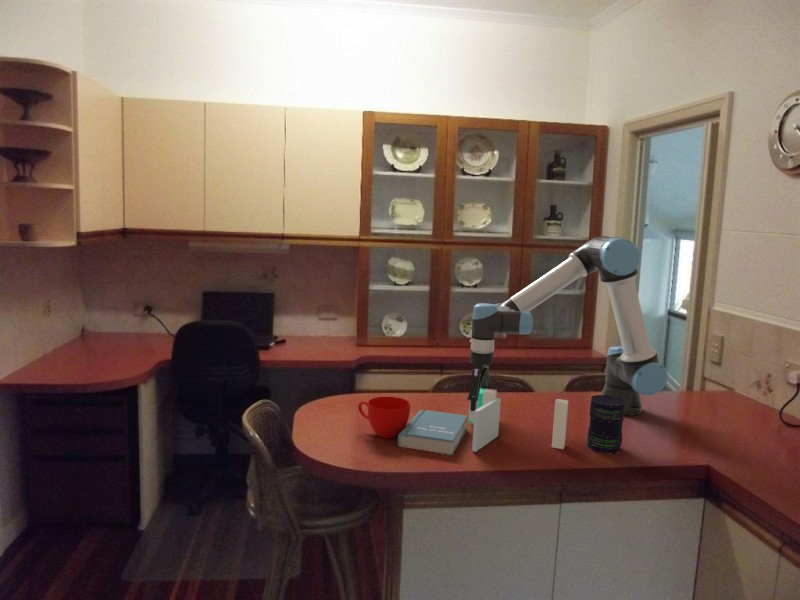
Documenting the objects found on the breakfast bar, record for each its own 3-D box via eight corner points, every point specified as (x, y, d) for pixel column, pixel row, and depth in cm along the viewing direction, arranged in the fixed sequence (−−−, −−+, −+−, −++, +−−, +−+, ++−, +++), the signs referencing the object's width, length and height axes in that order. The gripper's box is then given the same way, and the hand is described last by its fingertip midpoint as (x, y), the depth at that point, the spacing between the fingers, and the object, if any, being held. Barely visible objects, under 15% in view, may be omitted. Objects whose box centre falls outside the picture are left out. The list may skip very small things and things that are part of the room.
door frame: (564, 445, 181) (568, 400, 179) (563, 449, 177) (567, 403, 175) (482, 431, 189) (485, 388, 187) (480, 435, 186) (483, 391, 184)
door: (475, 451, 172) (478, 411, 170) (467, 449, 173) (469, 409, 172) (498, 435, 185) (500, 398, 184) (489, 433, 187) (492, 396, 185)
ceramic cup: (368, 421, 194) (369, 391, 192) (415, 432, 186) (417, 401, 185) (347, 434, 182) (348, 402, 181) (397, 445, 175) (398, 412, 173)
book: (452, 457, 169) (453, 440, 169) (397, 448, 174) (398, 432, 173) (466, 430, 191) (467, 415, 190) (417, 423, 195) (418, 409, 195)
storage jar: (616, 457, 173) (621, 407, 171) (582, 449, 178) (586, 400, 176) (624, 446, 181) (629, 399, 179) (591, 439, 187) (595, 392, 184)
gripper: (479, 342, 209) (475, 401, 212) (460, 357, 186) (456, 423, 189) (500, 345, 206) (496, 404, 209) (484, 360, 183) (480, 427, 186)
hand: (477, 413), depth 199 cm, fingers open, 13 cm apart
